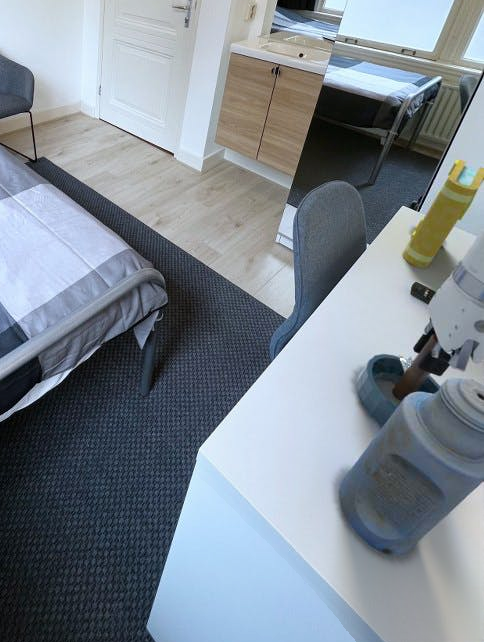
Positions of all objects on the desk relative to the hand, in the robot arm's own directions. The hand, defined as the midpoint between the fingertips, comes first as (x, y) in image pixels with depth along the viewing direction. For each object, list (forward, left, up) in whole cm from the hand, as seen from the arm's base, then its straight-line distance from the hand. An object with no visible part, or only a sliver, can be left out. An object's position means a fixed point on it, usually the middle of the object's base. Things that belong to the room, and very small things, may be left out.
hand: (426, 361), depth 70 cm
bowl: (0, 0, -13) cm, 13 cm away
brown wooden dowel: (0, 0, -10) cm, 10 cm away
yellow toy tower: (-16, -54, -13) cm, 58 cm away
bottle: (+6, +20, -13) cm, 25 cm away
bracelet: (-1, -4, -13) cm, 14 cm away
